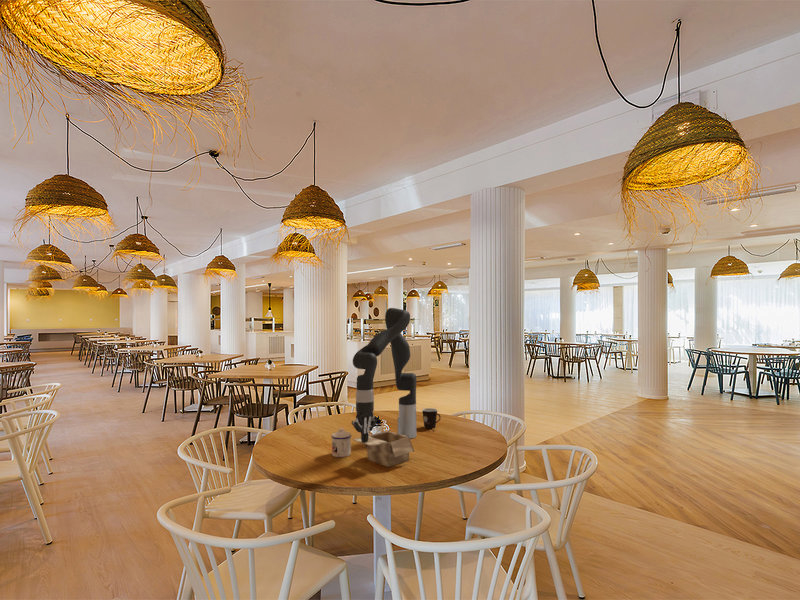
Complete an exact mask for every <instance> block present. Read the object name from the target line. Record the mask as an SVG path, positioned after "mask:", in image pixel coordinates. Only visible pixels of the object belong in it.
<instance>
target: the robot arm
mask: <svg viewBox="0 0 800 600" xmlns="http://www.w3.org/2000/svg"><path fill="white" fill-rule="evenodd" d="M384 320H385V326H386V329H384V330H382V331H380V332H378V333H377V334H376V335H374V336H373V338H372V339H371V340H370V341H369V342H368V344H366V345H364V346H363V347H362V348H360V349H359V350H358V351H357V352H356V353H355V354H354V355H353V358H352V365H353V367H354V368H355V369H358V370H364V372H363V374H360V375H358V376H357V377H356V393H355V412H356V416H355V419H354V420H352V421H351V425H352V426H353V428H354V429H355V431H356V432H357V433H359V434H360V437H361V441H362V442H364V443H365V442H368V436H369V433H370V431H373V429H374V428H375V425H376V423H377V421H378V419H379V418H378V417H376V416H375V415H374V409H375V408H374V407H375V393H374V379H375V374H376V370H377V367H378V358H377V357H378V356H380V355H381V354H382V353H383V352H384V350H385V349H386V348H387V347H388V346H389V344H390V348H391V349H390V350H391V356H392V362H393V368H394V376H395V386H396V388H397V390H398V391H403V392H404V391H409V393H408V394H406V395H404V396H400V397H398V416H397V433H398V434H402V435H405V436H409V438H410V439H414V438H416V437H417V375H416V373H413V372H402V371H403V370H404V368H405V366H406V365H407V364H408V362H410V358H411V349H410V345H409V342H408V340H406V338H405V337H404V336H403V334H402V332H403V331H405V330H406V329H407V327H408V326H409V324H410V323H411V314H410V312H409V311H408V310H405V309H400V308H395V307H390V308H387V310H386V312H385V315H384Z"/></svg>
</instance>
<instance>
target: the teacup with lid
mask: <svg viewBox="0 0 800 600" xmlns="http://www.w3.org/2000/svg"><path fill="white" fill-rule="evenodd" d="M351 439H352V434H351V433H350V432H349V431H346V430H345V429H344V428H339V429H338V430H337V431H336V432H332V434H331V455H332V456H333V457H335V458H346V457H348V456H349V457H350V456H351V454H352V440H351ZM345 456H346V457H345Z"/></svg>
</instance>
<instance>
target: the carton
mask: <svg viewBox="0 0 800 600" xmlns="http://www.w3.org/2000/svg"><path fill="white" fill-rule="evenodd" d="M368 436H369V437H372V438H376V439H379V440H383V441H386V442H387V443H385V444H381V445H377V446H374V447H372V446H369V445H366V444H363V445H364V446H363V447H364V448H366V451H367V456H366V458H367V461H369V462H372V463H376V464H378V465H381V466H384V467H386V468H391V467H395V466H397V465H401V464H403V463H406V462H409V461H410V453H412V452H413V453H414V452H415V449H414V446H413V444H412V441H411V438H409V436H405V435H402V434H398V432H394V431H390V430H387V431H386V430H384V431H380V432H377V433H372V434H368Z"/></svg>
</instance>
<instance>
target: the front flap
mask: <svg viewBox="0 0 800 600" xmlns="http://www.w3.org/2000/svg"><path fill="white" fill-rule="evenodd" d="M352 441H353V442H357V443H360V444H363V445H365V444H366V445H369V446H372V447H374V446H377V445H381V444H385V443H387V442H386V441H383V440H379V439H376V438H372V437H369V435H368V442H365V443H364V442H362V441H361V436H360V437H356V438H353V439H352Z"/></svg>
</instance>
